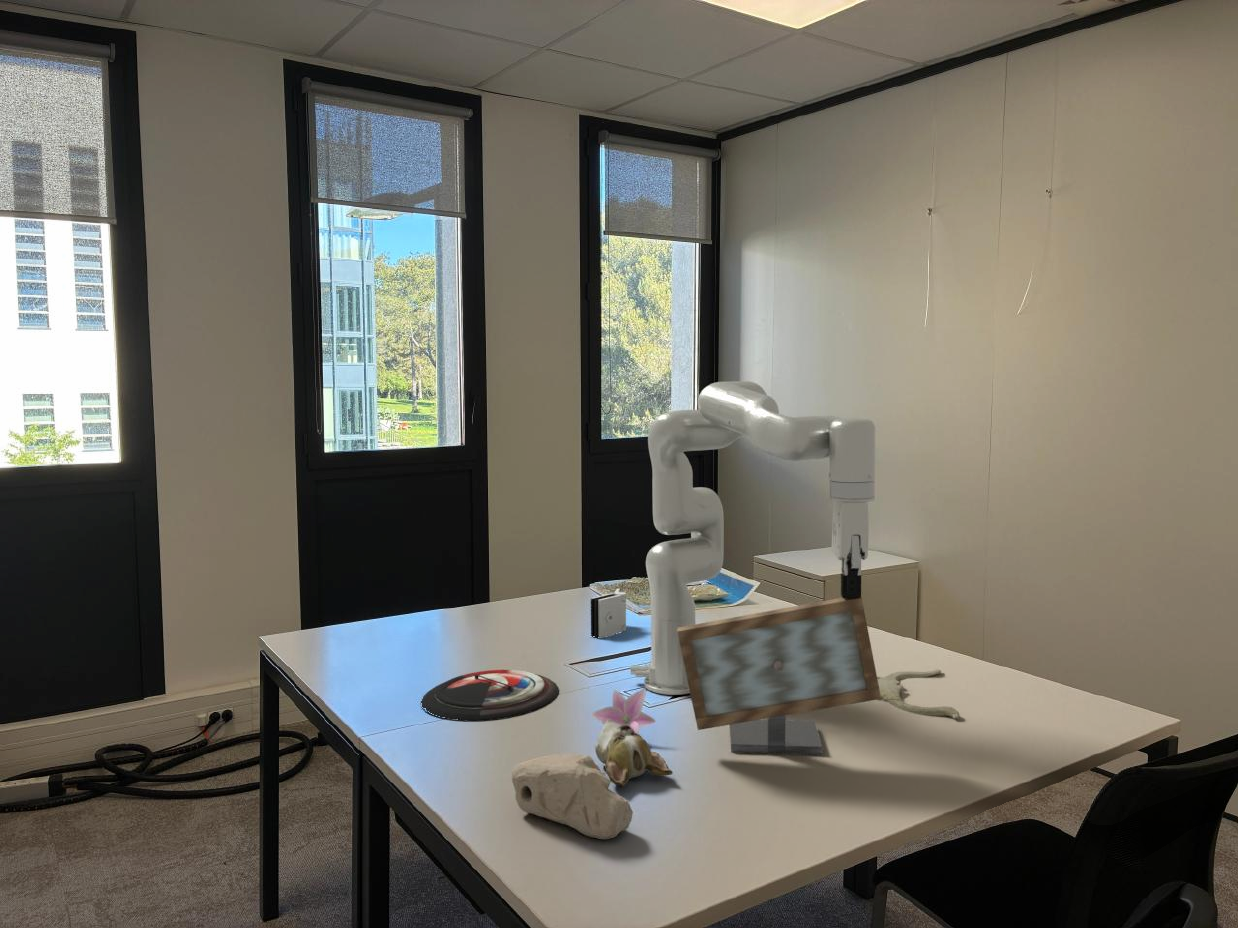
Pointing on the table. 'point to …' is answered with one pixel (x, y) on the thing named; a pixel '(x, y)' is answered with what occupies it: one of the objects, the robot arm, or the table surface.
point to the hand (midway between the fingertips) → (850, 597)
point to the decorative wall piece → (891, 694)
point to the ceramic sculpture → (627, 754)
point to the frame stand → (776, 737)
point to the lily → (626, 711)
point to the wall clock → (490, 695)
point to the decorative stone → (571, 794)
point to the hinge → (608, 614)
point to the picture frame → (779, 662)
